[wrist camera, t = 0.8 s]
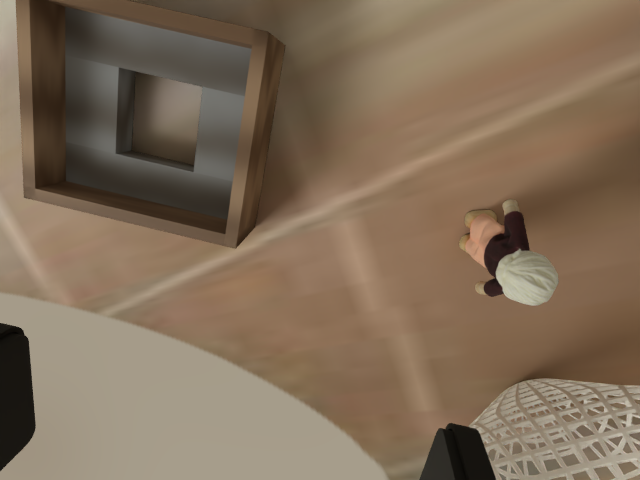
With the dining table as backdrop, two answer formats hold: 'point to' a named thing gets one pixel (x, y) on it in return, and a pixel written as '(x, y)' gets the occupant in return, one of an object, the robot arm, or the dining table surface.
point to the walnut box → (118, 106)
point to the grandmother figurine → (508, 256)
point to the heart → (560, 427)
